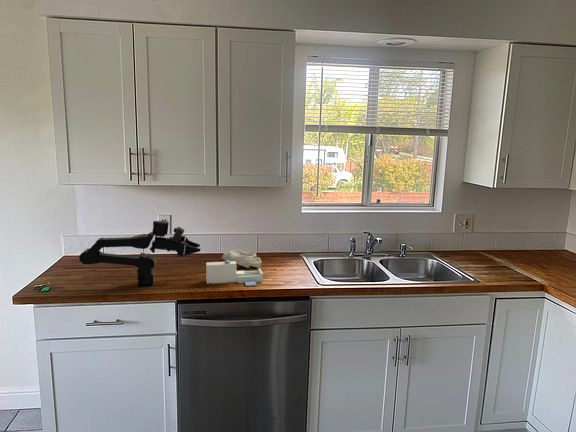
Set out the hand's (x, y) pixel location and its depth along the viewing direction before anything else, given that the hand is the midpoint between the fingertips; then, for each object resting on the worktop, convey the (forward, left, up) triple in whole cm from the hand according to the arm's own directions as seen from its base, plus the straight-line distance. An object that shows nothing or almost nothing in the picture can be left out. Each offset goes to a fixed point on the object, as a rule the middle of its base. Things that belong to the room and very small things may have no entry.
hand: (200, 247), depth 199 cm
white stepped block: (+12, -2, -17) cm, 20 cm away
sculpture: (+23, +24, -17) cm, 37 cm away
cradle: (+23, -2, -17) cm, 28 cm away
